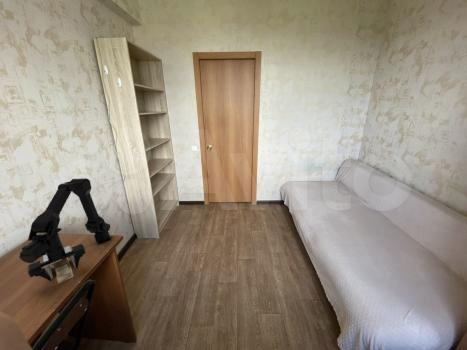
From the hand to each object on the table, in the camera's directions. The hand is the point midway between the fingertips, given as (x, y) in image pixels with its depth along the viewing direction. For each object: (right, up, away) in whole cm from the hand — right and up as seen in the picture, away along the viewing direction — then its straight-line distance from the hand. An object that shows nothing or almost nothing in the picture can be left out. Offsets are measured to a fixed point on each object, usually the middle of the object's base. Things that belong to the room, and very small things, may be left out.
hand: (64, 274), depth 90 cm
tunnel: (-7, -1, +8) cm, 10 cm away
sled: (-5, -1, +6) cm, 8 cm away
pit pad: (-13, +1, +13) cm, 19 cm away
